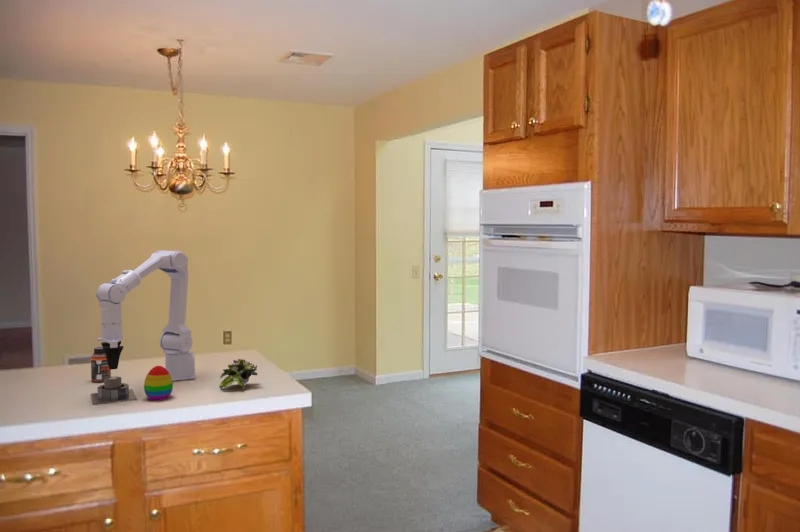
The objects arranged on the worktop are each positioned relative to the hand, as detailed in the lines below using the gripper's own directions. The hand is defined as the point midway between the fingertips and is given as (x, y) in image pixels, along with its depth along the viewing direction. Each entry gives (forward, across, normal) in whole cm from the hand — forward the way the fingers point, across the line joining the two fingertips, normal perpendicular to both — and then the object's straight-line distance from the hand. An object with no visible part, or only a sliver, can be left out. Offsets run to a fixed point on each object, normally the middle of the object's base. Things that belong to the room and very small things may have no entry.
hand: (112, 366), depth 191 cm
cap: (+9, 0, 0) cm, 9 cm away
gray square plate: (+9, 0, 0) cm, 9 cm away
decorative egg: (+10, +7, +12) cm, 17 cm away
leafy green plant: (+10, +7, +37) cm, 39 cm away
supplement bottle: (+10, -23, -2) cm, 25 cm away
